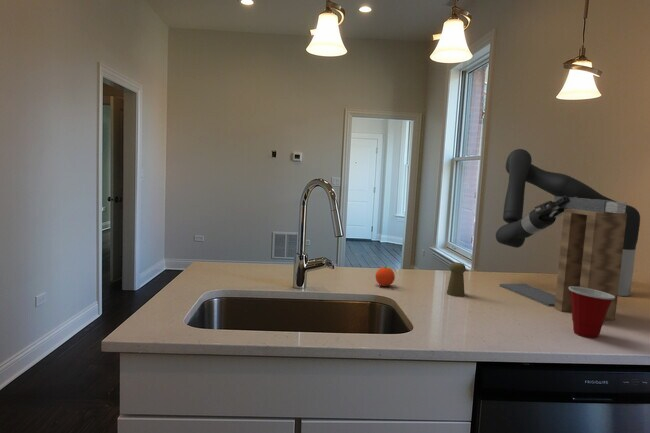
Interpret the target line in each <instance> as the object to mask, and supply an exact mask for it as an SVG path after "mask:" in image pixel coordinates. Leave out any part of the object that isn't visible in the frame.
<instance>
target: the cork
mask: <svg viewBox="0 0 650 433" xmlns="http://www.w3.org/2000/svg"><path fill="white" fill-rule="evenodd" d="M466 268H467V267H466V264H464V263H463V262H452V263H450V265H449V271H450V276H449V281H448V284H447V290H446V294H447V295H448V296H451V297H459V298H460V297H462V298H463V297H465V280H464V279H465V278H464V274H465V272H466Z"/></svg>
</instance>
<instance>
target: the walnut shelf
mask: <svg viewBox="0 0 650 433" xmlns="http://www.w3.org/2000/svg"><path fill="white" fill-rule="evenodd" d="M626 218H627V214H626V213H603V212H594V211H586V210H577V209H564V213H563V219H562V227H561V228H562V230H561V239H560V248H559V259H558V268H557V279H556V287H555V288H556V289H555V295H556V297H555V306H553V307H554V310H556V311H559V312H572V306H571V296H570V290H569V287H571V286H574V287H583V288H589V289H594V290H598V291H602V292H605V293H608V294H611V295H613V296H615V299H613V300H612V302H611V304H610V306H609V308H608V311H607V314H606V317H605V320H604V321H615V320H616V314H617V313H616V312H617V306H618V305H617V304H618V297H619V296H618V288H619V279H620V271H621V262H622V253H623V244H624V235H625V227H626Z"/></svg>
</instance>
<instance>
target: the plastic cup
mask: <svg viewBox="0 0 650 433" xmlns="http://www.w3.org/2000/svg"><path fill="white" fill-rule="evenodd" d="M569 290H570V296H571V306H572V311H571V317H572V318H571V320H572V326H573V332H574V334H575V335H577V336H580V337H584V338H589V339H595V338H599V336H600V333H601V331H602V330H601V329H602V328H603V327H602V326H604V322H605V321H606V320H605V317H606V314H607V311H608V308H609V306H610V304H611V302H612V300H613V299H615V296H613V295H611V294H608V293H605V292H602V291H598V290H594V289H589V288H583V287H574V286H571V287H569Z"/></svg>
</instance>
